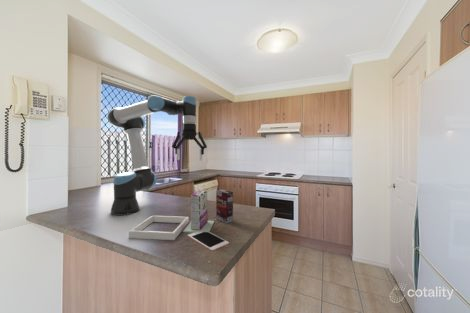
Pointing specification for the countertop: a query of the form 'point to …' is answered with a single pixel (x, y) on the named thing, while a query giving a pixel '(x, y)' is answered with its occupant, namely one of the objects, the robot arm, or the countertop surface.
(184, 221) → the tray
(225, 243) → the cell phone
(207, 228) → the mat
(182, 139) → the robot arm
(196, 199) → the candy bar box
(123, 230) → the countertop surface
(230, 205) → the supplement box
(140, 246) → the countertop surface
